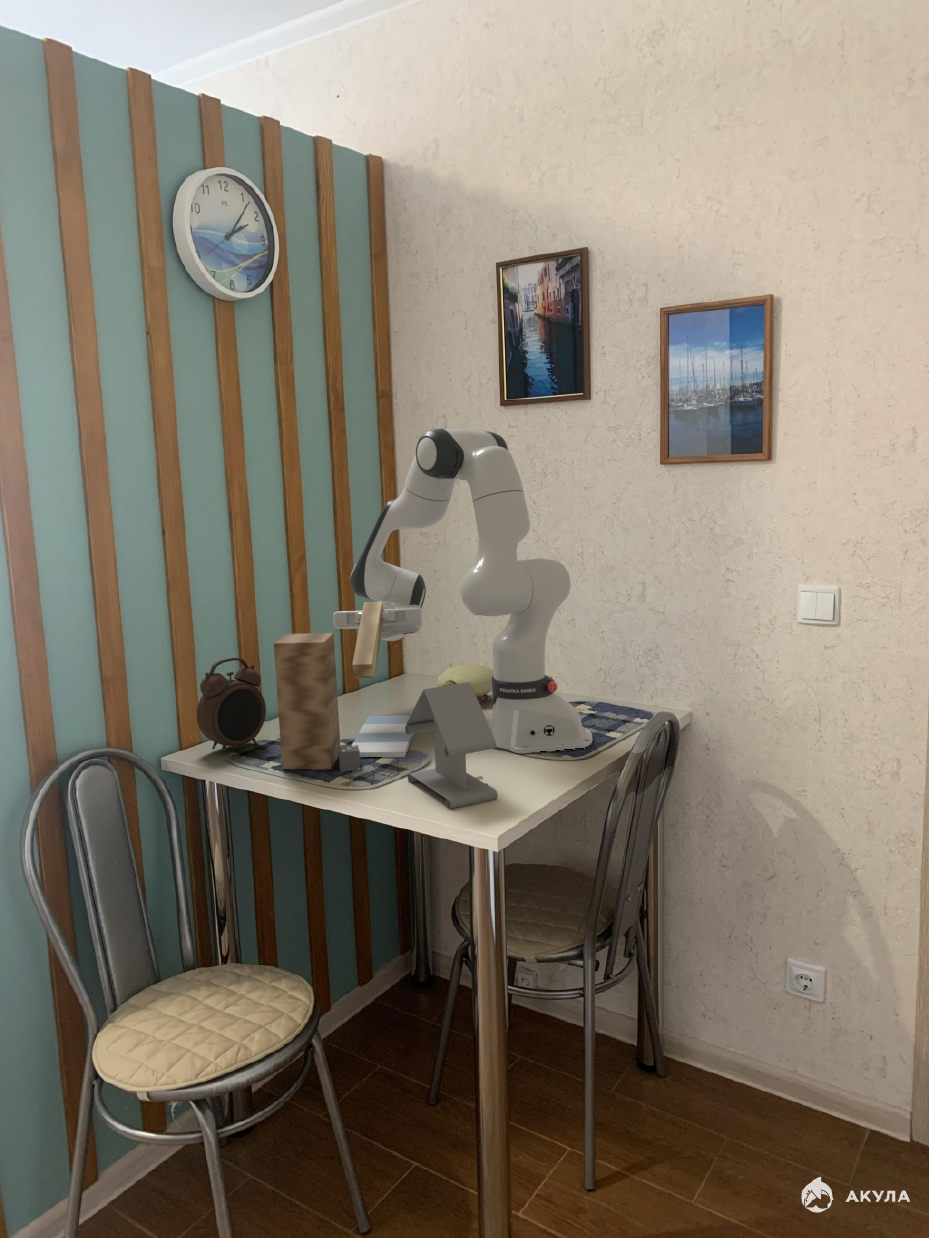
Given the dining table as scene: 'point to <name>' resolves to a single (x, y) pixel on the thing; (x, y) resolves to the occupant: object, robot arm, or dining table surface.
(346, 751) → the die
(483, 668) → the flask
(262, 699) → the alarm clock
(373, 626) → the light wooden block
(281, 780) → the dining table surface
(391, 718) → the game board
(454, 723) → the phone stand
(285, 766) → the walnut stand
